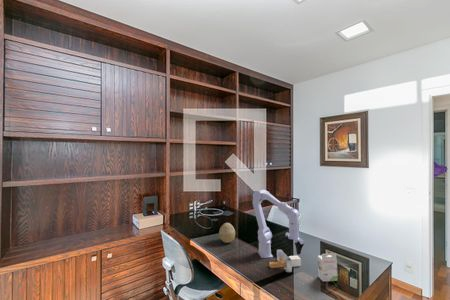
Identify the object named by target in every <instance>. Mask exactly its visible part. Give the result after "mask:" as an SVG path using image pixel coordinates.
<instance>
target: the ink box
mask: <svg viewBox="0 0 450 300" xmlns="http://www.w3.org/2000/svg"><path fill="white" fill-rule="evenodd" d="M317 274H318V278H319V279H320V280H321V282H337V281H338V260H337V253H335V252H332V253H322V254H321V255H317ZM338 282H339V281H338Z"/></svg>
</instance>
